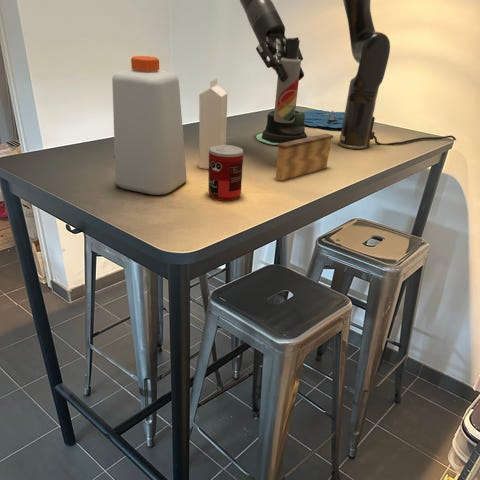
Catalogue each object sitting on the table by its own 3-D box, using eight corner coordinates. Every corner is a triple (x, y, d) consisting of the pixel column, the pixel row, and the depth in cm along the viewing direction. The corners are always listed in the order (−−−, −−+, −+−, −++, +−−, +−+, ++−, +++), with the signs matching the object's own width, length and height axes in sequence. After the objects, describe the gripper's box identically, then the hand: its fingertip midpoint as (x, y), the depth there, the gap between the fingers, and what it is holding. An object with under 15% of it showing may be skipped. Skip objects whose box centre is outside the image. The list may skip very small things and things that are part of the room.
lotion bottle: (292, 124, 125) (302, 38, 113) (272, 122, 126) (279, 36, 114) (295, 119, 130) (304, 37, 118) (275, 117, 130) (282, 35, 119)
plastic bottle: (109, 187, 112) (94, 57, 96) (141, 170, 124) (133, 51, 107) (164, 199, 108) (158, 64, 92) (192, 180, 120) (191, 58, 104)
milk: (199, 168, 129) (198, 80, 116) (205, 162, 133) (205, 77, 120) (219, 170, 128) (221, 82, 115) (225, 164, 132) (228, 79, 119)
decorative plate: (311, 136, 169) (313, 121, 166) (277, 116, 192) (278, 102, 188) (378, 129, 178) (381, 115, 175) (338, 111, 200) (340, 98, 197)
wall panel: (321, 165, 136) (326, 133, 131) (328, 168, 135) (333, 135, 130) (273, 178, 125) (277, 143, 119) (280, 181, 123) (284, 146, 118)
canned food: (207, 189, 115) (208, 144, 109) (239, 190, 116) (241, 145, 110) (208, 200, 109) (209, 153, 103) (242, 201, 110) (244, 154, 103)
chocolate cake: (279, 126, 170) (326, 138, 161) (250, 159, 165) (296, 174, 156) (272, 89, 158) (322, 100, 148) (240, 123, 152) (290, 138, 143)
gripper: (253, 9, 113) (283, 70, 113) (292, 10, 121) (320, 67, 122) (237, 32, 119) (266, 90, 119) (275, 31, 127) (302, 86, 128)
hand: (293, 78), depth 120 cm, fingers closed on lotion bottle, 5 cm apart
